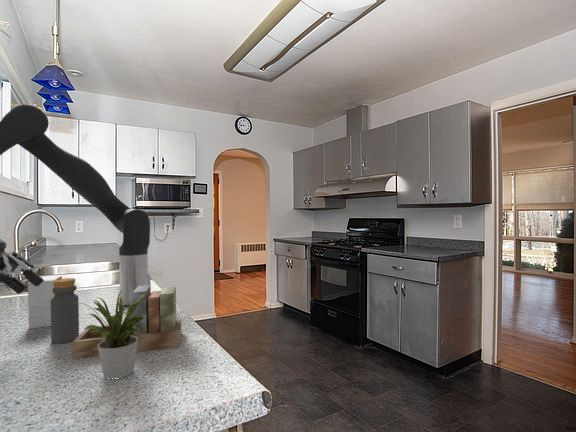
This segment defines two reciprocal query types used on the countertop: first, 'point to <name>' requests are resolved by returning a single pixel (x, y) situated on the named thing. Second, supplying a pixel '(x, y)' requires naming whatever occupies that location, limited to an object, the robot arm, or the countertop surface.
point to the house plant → (117, 338)
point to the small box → (41, 302)
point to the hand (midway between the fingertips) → (32, 287)
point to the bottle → (64, 312)
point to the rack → (158, 322)
